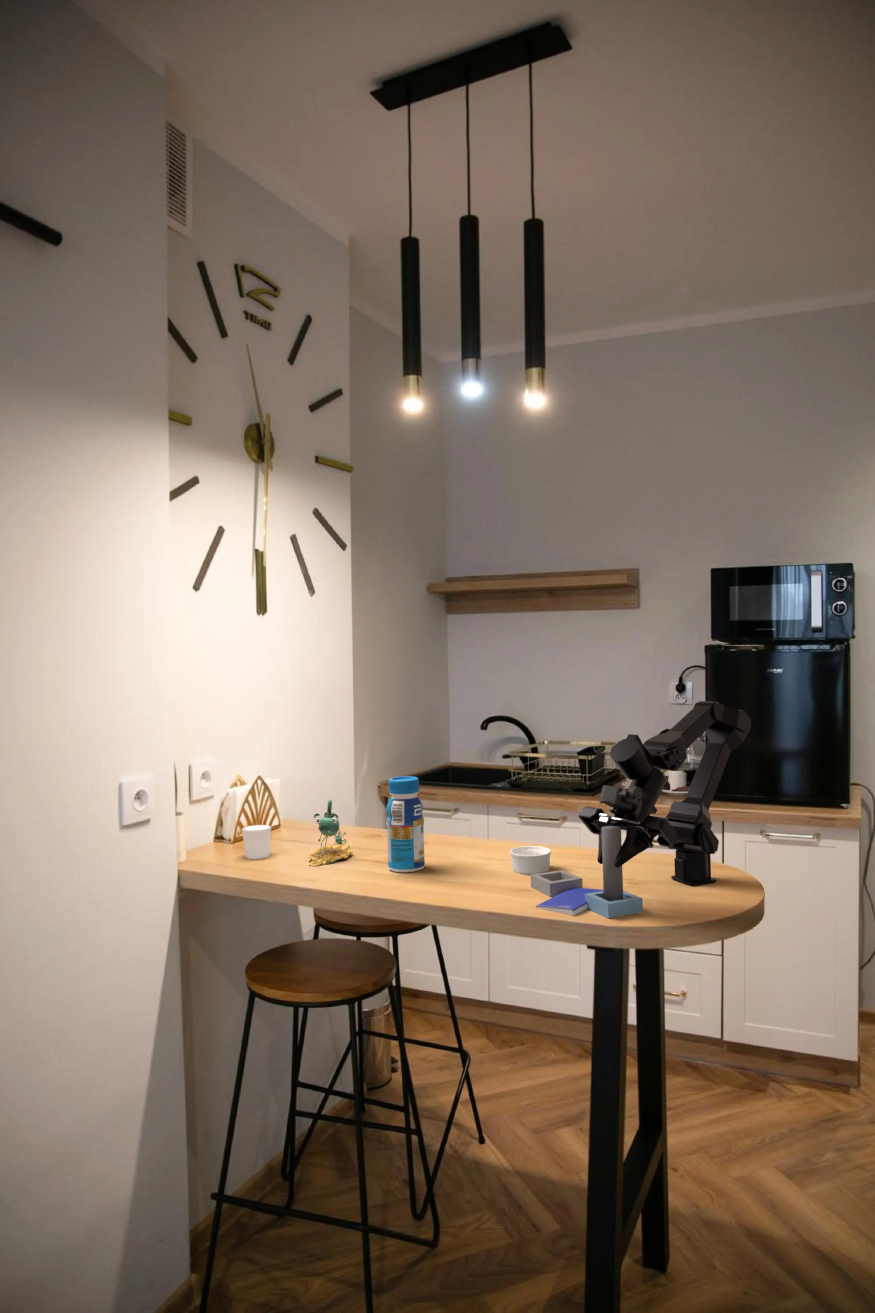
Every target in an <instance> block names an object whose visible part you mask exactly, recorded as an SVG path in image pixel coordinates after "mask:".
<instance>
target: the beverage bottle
mask: <svg viewBox="0 0 875 1313" xmlns="http://www.w3.org/2000/svg"><path fill="white" fill-rule="evenodd" d="M388 792H389V795H391V796H390V799H389V800H388V803H387V805H386V808H385V811H386V813H387V816H386V819H385V826H386V835H387V836H386V837H387V868H388V869H389V870H390V871H392V872H396V873H413V872H418V871H421V870H422V869H424V868H425V865H426V861H425V837H424V836H425V835H424V834H425V831H424V830H425V829H424V828H425V827H424V824H425V819H424V816H423V810H424V807H423V803H422V801H421V799H420V798H419V796H418V795H417V794H419V793H420V781H419V777H416V776H409V775H408V776H407V775H406V776H393V777H391V778H389V779H388Z"/></svg>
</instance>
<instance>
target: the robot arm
mask: <svg viewBox="0 0 875 1313" xmlns="http://www.w3.org/2000/svg"><path fill="white" fill-rule="evenodd" d="M751 726H752V719H751V717H750V715H748V714H747V712H746V711H745V710H743V709H736V708H732V707H730V706H727V705H725V704H722V703H720V702H718V701H706V700H704V701H703V700H699V701H698V702H696V703H695V704H694V706H693V708H692V709H691V710H690V711H689V712H688V713H686V714H685V715H684V716H683V717H682V718H681V719H680V720H679V721H678V722H677V723H676V724H675V725H674V726H672V728H671V729H669V730H667V731H666V732H665V733H660V734H657V735H654V736H652V737H650V738H648V739H647V740H646V741H644V743H643V742H642V740H641V738H640V736H639V735H638V734H633V733H632V734H630V733H629V734H627V736H626V738H623V739H621V740H620V741H618V742H616V743H615V744H614V745H613V746H611V749H610V752H609V757H610V758H611V759H612V761H613V762H614V764H615V765H616V767H617V768H618V770H620V772H621V773H622V775H623V776H624V778H626V779H627V780H631V782H630V783H629V785H628V787H627V788H623V787H620V786H611V785H602V788H601V792H600V798H599V803H600V804H605V805H606V806H609V808H608V811H609V812H610V814H613V815H614V816H611V815H610V814H606V812H605V811H604V810H603V808H600V807H593V806H588V805H587V806H583V807H582V809H581V811H580V812H579V814H578V818H579V819H580V821H581V822H582V823H583V824H584V825H585V827H586V828H587V830H588V831H589V832H590V833H592V834H593V835H597V836H599V837H598V838H599V843H598V850H597V851H598V853H597V863H599V865H603V861H602V830H601V828H602V827H605V826H617V827H621V831H626V833H625V839H624V841H623V843H622V847H621V849H620V851H619V853H618V855H617V858H616V860H615V863H614V865H615V866H616V867H617V868H619V867H620V866H622V867H623V865H624V864H626V863H628V862H629V861H630V860H631V859H633V858H635V857H636V856H638V855H639V854H641V853H642V852H644V851H646V850H647V849H649V848H650V849H653V848H654V846H655V845H654V844H653V842H654V839H655V838H656V841H657V843H658V845H659V846H660V847H665V848H666V847H667V848H668V849H669V850H675V858H674V860H673V861H674V862H673V863H674V875H671V876H670V877H671V879H672V880H674V881H677V882H680V883H682V884H686V885H687V886H688V885H689V886H697V885H699V886H700V885H703V884H704V885H705V884H709V883H710V884H711V883H716V882H717V878H716V877H712V871H711V870H712V869H711V865H712V863H711V860H712V859H711V855H715V854H716V852H718V849H719V842H720V841H719V839H718V837H717V836H716V835H715V833H714V831H713V830H712V827H713V826H712V825H713V822H712V819H711V814H710V807H711V804H712V802H713V799H714V798H715V794H716V791H717V789H718V787H719V784H720V781H721V779H722V777H723V774H724V770H725V768H726V766H727V763H728V761H729V757H730V755H731V753H732V751H734V750H735V749H736V748H738V747H739V746H740V745H741V744H743V743H744V742H745V739H746V738H747V736H748V734H749V732H750V730H751ZM704 733H706V738H707V744H706V747H705V749H704V751H703V754H702V756H701V759H700V761H699V764H698V767H697V769H696V771H695V774H694V776H693V779H692V781H691V783H690V786H689V789H688V791H687V794H686V796H685V798H684V799H683V800H682V801H677V800H675V801H673V802H672V803H671V804H670V808H669V812H668V813H667V814H666V816H665V817H661V816H653V815H656V814H657V812H658V809H657V808H656V806H655V805H656V804H657V802H658V799H659V796H660V795H661V794H662V791H669V792H670V791H671V789H672V788H671V783H670V781H669V777H668V776H667V775H665V774H664V773H663V771H670V772H676V771H678V770H679V769H680V768H681V766H682V765H683V764H684V762H685V761H686V760H687V757H688V752H687V751H688V749H689V747H691V745H693V744H694V743H695V741H697V740H698V739H699V738H700V737H701V736H702V735H703V734H704ZM651 814H652V815H651Z"/></svg>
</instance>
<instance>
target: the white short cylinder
mask: <svg viewBox="0 0 875 1313" xmlns="http://www.w3.org/2000/svg"><path fill="white" fill-rule="evenodd" d="M241 832H242V839H243V840H242V841H243V847H244V856H245V858H246V859H247V860H262V859H266V858H269V857H270V855H271V854H270V853H271V839H272V838H271V836H272V826H271V825H268V824H255V825H254V824H253V825H249V826H244V827H242V829H241Z"/></svg>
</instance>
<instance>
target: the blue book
mask: <svg viewBox="0 0 875 1313" xmlns="http://www.w3.org/2000/svg"><path fill="white" fill-rule="evenodd" d="M599 891H603V889H599V888H589V887H588V888H587V887H583V888H576V887H573V888H570V889H569V890H566V891H564V892H562V893H560V894H558V895H556V896H551V897H550V898H549V899H546V900H545V901H542V902H540V903H538V904H537V905H535V909H539V910H544V911H549V912H553V913H559V914H563V915H566V916H567V915H569V916H572V917H573V916H576V915H578V914H580V913H582V912H584V911H586V910H587V908H588V905H587V901H585V894H587V893H593V892H599Z"/></svg>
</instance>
